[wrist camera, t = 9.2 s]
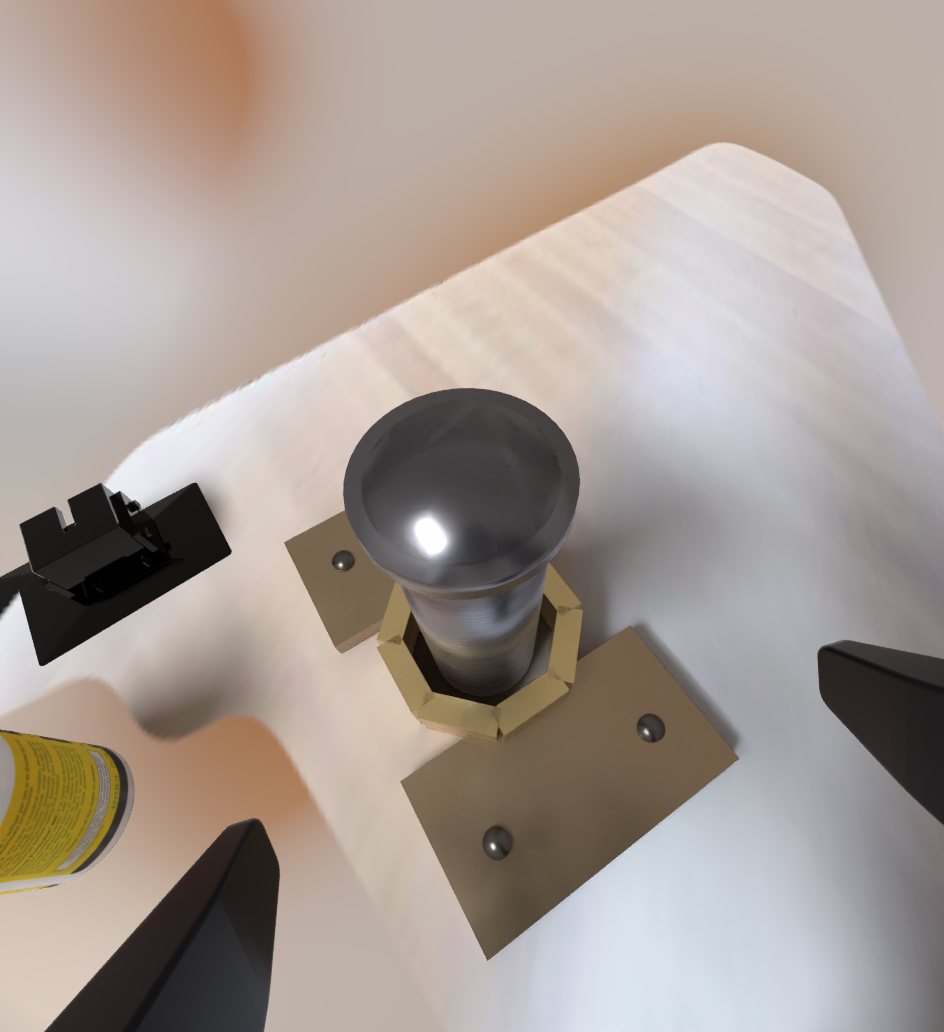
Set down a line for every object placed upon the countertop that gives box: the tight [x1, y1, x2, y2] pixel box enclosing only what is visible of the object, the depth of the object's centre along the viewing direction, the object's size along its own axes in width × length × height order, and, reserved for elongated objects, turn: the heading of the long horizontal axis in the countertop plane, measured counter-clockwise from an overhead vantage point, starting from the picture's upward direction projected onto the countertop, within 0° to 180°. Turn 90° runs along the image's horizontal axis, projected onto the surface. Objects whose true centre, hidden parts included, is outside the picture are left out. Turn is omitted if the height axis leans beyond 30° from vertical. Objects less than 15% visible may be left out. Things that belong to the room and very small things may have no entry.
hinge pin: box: [343, 388, 580, 697], centre depth 17 cm, size 5×5×13 cm
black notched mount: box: [0, 483, 232, 666], centre depth 24 cm, size 12×7×5 cm, turn 125°
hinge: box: [284, 510, 739, 961], centre depth 21 cm, size 18×11×2 cm, turn 32°
